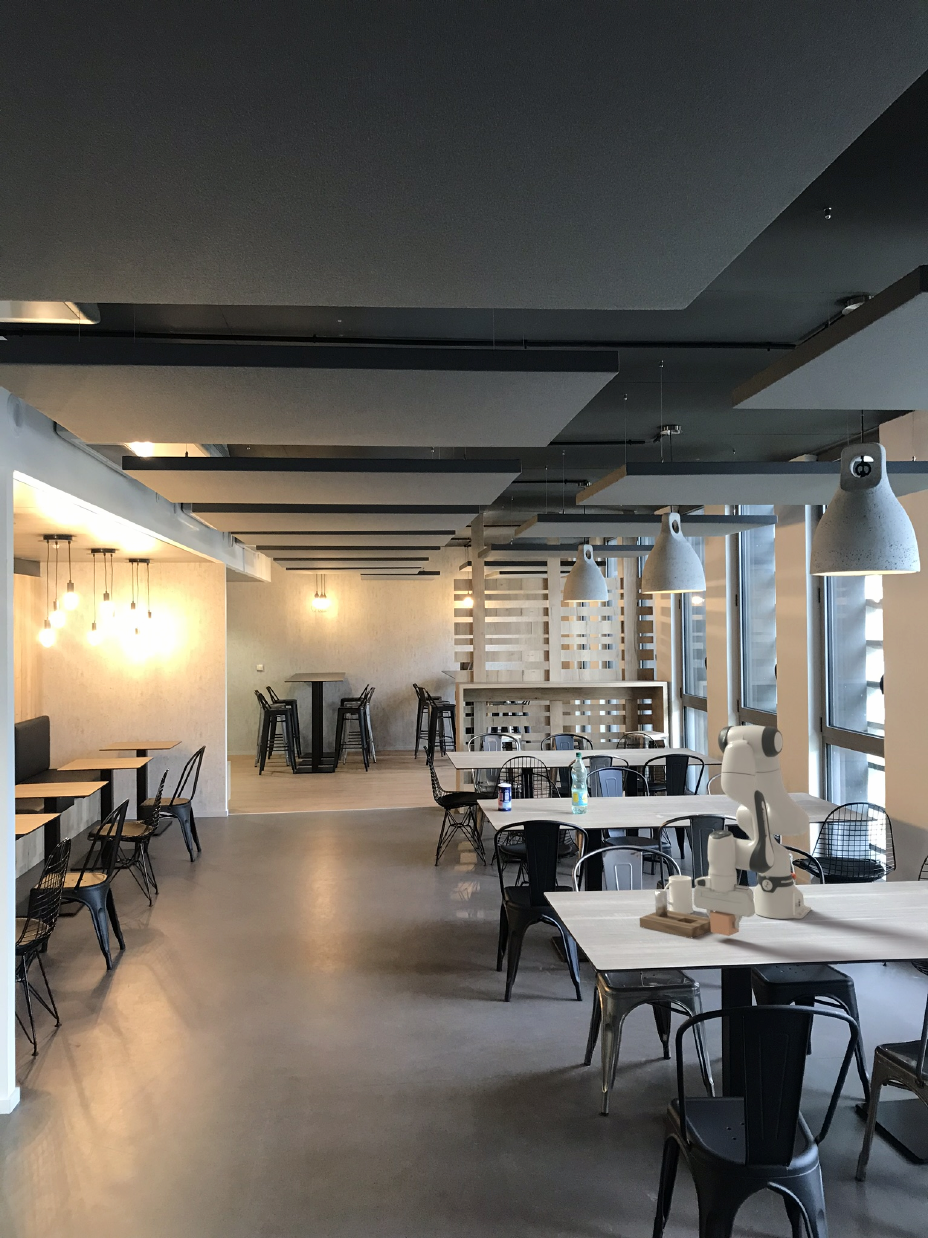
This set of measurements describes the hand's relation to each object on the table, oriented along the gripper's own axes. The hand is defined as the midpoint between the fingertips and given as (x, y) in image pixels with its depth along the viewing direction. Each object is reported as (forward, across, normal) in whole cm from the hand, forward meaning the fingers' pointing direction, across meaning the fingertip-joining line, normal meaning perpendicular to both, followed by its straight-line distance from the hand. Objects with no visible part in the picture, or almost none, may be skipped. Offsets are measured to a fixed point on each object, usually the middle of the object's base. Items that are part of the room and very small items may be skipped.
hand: (724, 926), depth 275 cm
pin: (+1, +25, -2) cm, 25 cm away
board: (+4, +19, -2) cm, 20 cm away
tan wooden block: (+2, 0, 0) cm, 2 cm away
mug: (+4, +30, -20) cm, 36 cm away
